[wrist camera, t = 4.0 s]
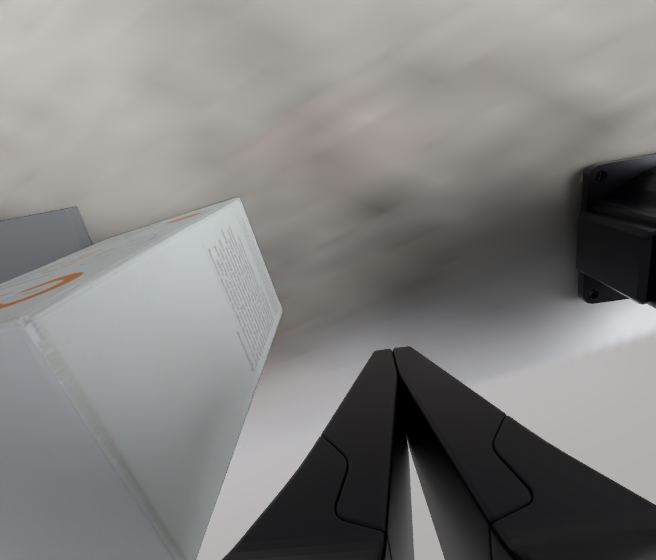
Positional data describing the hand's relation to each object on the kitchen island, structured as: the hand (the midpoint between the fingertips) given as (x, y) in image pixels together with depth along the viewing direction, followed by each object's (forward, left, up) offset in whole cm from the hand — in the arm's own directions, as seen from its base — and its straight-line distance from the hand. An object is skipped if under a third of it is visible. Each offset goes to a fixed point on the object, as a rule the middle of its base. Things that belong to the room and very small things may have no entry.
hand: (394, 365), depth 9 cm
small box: (+9, 0, -10) cm, 14 cm away
